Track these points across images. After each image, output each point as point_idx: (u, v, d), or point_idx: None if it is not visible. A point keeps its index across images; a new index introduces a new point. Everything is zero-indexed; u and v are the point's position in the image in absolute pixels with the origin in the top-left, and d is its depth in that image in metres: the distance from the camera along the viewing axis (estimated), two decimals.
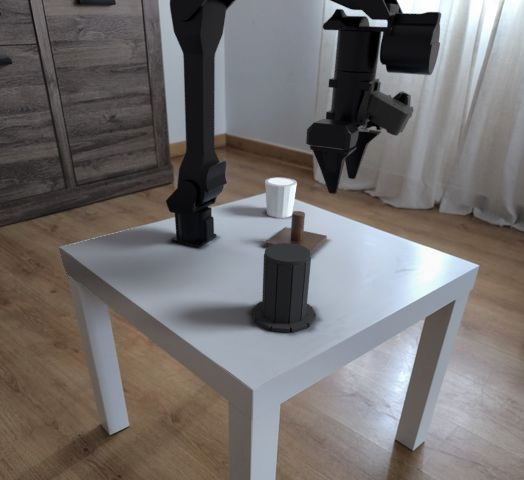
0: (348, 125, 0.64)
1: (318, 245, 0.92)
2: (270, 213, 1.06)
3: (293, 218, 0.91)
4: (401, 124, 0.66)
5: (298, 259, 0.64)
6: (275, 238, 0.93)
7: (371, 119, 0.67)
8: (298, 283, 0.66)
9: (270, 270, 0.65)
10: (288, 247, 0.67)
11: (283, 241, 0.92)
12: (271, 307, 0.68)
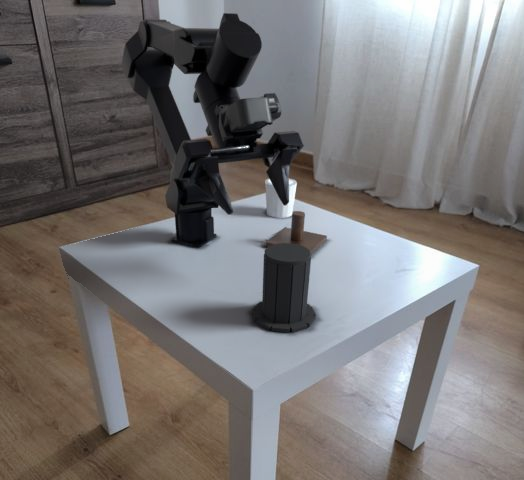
0: (191, 140, 0.65)
1: (318, 245, 0.92)
2: (270, 213, 1.06)
3: (293, 218, 0.91)
4: (244, 111, 0.63)
5: (298, 259, 0.64)
6: (275, 238, 0.93)
7: (230, 129, 0.66)
8: (298, 283, 0.66)
9: (270, 270, 0.65)
10: (288, 247, 0.67)
11: (283, 241, 0.92)
12: (271, 307, 0.68)
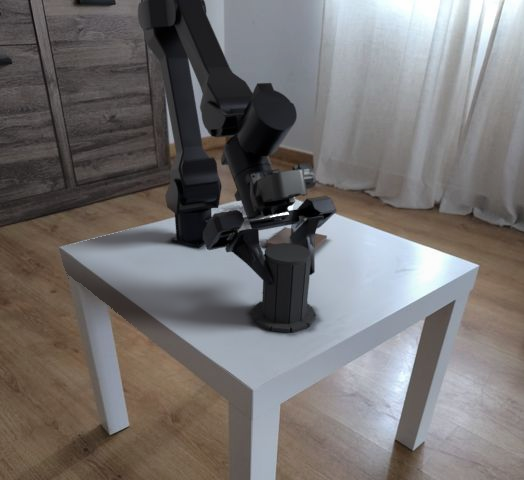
0: (222, 212, 0.62)
1: (318, 245, 0.92)
2: None
3: None
4: (279, 185, 0.60)
5: (298, 259, 0.64)
6: (275, 238, 0.93)
7: (262, 200, 0.63)
8: (298, 283, 0.66)
9: (270, 270, 0.65)
10: (288, 247, 0.67)
11: (283, 241, 0.92)
12: (271, 307, 0.68)
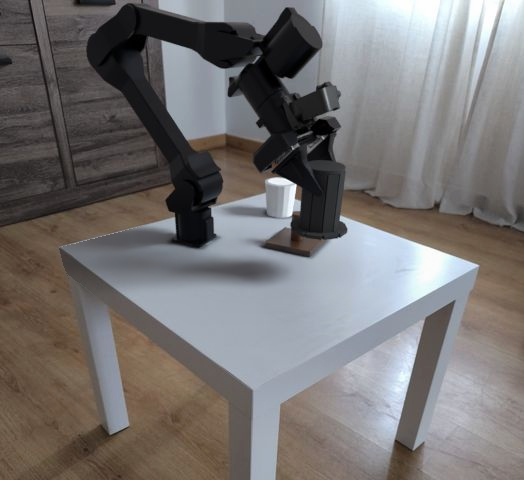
0: (277, 132, 0.67)
1: (318, 245, 0.92)
2: (270, 213, 1.06)
3: (293, 218, 0.91)
4: (326, 99, 0.67)
5: (341, 168, 0.73)
6: (275, 238, 0.93)
7: (302, 118, 0.70)
8: (341, 191, 0.74)
9: None
10: (320, 162, 0.75)
11: (283, 241, 0.92)
12: (318, 219, 0.75)
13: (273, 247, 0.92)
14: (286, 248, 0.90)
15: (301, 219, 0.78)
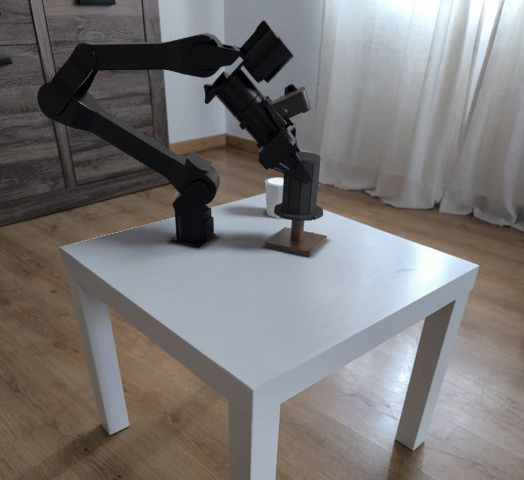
0: (280, 131, 0.76)
1: (318, 245, 0.92)
2: (270, 213, 1.06)
3: None
4: (307, 99, 0.78)
5: (318, 156, 0.85)
6: (275, 238, 0.93)
7: (287, 117, 0.79)
8: None
9: None
10: None
11: (283, 241, 0.92)
12: (306, 203, 0.87)
13: (273, 247, 0.92)
14: (286, 248, 0.90)
15: (288, 206, 0.88)
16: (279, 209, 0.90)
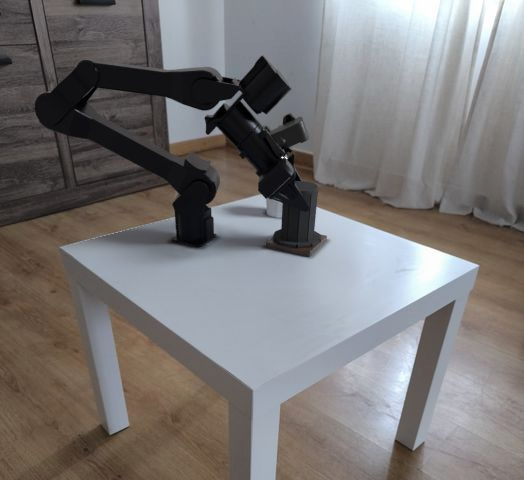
0: (279, 162, 0.78)
1: (318, 245, 0.92)
2: (270, 213, 1.06)
3: None
4: (305, 130, 0.81)
5: (315, 186, 0.88)
6: None
7: (285, 147, 0.82)
8: None
9: None
10: None
11: None
12: (304, 230, 0.90)
13: (273, 247, 0.92)
14: (286, 248, 0.90)
15: (286, 233, 0.91)
16: (278, 236, 0.93)
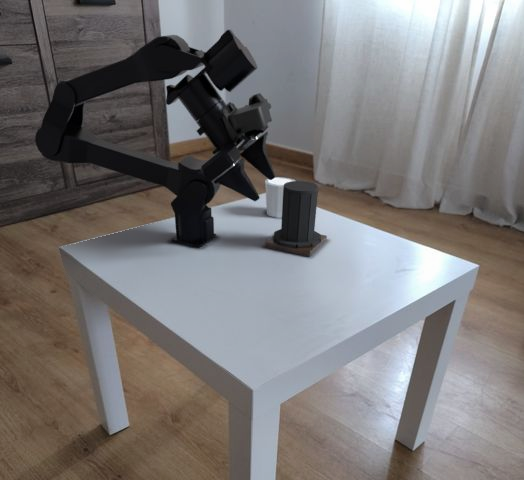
0: (223, 148, 0.77)
1: (318, 245, 0.92)
2: (270, 213, 1.06)
3: None
4: (262, 117, 0.77)
5: (315, 186, 0.88)
6: None
7: (241, 131, 0.79)
8: None
9: (304, 201, 0.86)
10: (294, 184, 0.89)
11: None
12: (304, 230, 0.90)
13: (273, 247, 0.92)
14: (286, 248, 0.90)
15: (286, 233, 0.91)
16: (278, 236, 0.93)
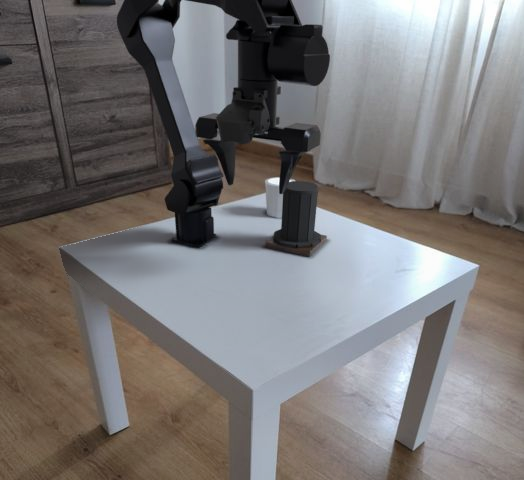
0: (204, 118, 0.74)
1: (318, 245, 0.92)
2: (270, 213, 1.06)
3: None
4: (219, 130, 0.68)
5: (315, 186, 0.88)
6: None
7: None
8: None
9: (304, 201, 0.86)
10: (294, 184, 0.89)
11: None
12: (304, 230, 0.90)
13: (273, 247, 0.92)
14: (286, 248, 0.90)
15: (286, 233, 0.91)
16: (278, 236, 0.93)
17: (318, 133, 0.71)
